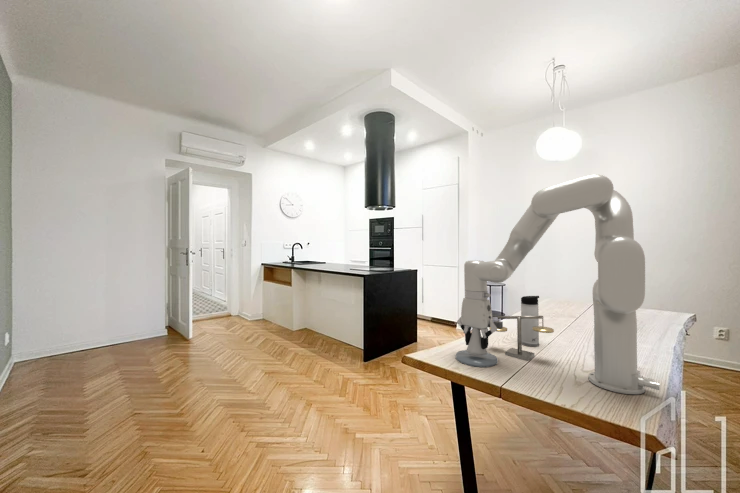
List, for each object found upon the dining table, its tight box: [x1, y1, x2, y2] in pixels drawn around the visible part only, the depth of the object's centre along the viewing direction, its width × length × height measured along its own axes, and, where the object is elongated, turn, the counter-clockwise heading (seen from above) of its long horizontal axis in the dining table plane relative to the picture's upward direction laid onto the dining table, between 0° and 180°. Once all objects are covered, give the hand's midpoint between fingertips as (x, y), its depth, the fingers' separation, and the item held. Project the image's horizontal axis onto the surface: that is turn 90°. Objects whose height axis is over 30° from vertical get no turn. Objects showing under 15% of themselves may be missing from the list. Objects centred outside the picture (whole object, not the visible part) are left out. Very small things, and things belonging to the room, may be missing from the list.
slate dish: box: [455, 349, 499, 368], centre depth 106 cm, size 14×14×1 cm
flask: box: [465, 327, 488, 355], centre depth 106 cm, size 7×7×10 cm
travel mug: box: [520, 295, 540, 348], centre depth 121 cm, size 6×7×20 cm
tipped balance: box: [488, 315, 555, 361], centre depth 109 cm, size 22×6×16 cm, turn 42°
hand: (476, 345), depth 106 cm, fingers closed on flask, 5 cm apart
